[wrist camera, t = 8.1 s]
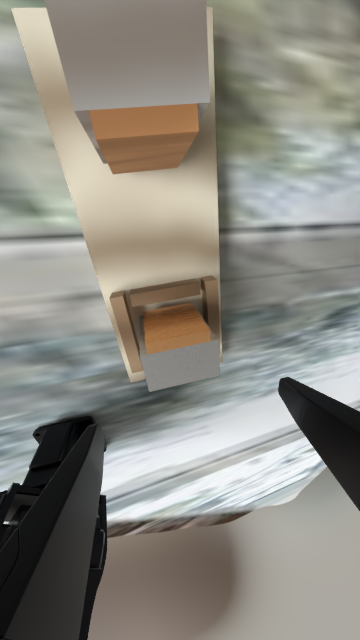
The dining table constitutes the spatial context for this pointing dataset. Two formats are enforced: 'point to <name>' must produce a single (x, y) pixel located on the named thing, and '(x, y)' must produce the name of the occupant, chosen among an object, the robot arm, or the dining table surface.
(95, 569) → the robot arm
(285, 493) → the dining table surface
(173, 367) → the white wood-topped block
